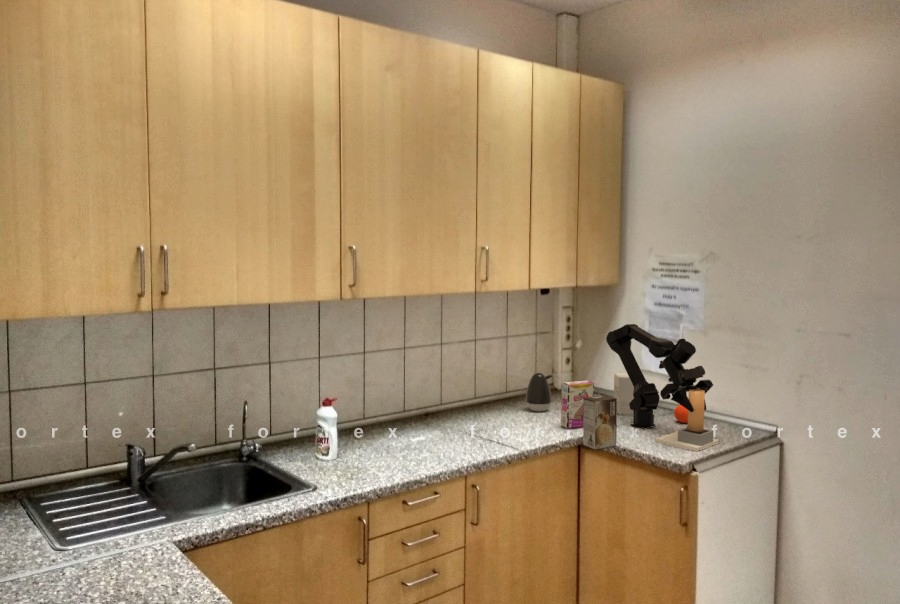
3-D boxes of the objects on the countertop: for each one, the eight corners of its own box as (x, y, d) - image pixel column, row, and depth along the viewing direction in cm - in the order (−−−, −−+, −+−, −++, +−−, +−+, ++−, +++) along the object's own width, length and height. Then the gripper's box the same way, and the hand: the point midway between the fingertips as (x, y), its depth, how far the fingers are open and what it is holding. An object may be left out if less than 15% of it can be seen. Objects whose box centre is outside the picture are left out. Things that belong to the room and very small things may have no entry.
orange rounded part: (686, 430, 236) (688, 391, 235) (688, 426, 241) (689, 388, 240) (702, 432, 234) (704, 392, 233) (704, 428, 239) (705, 389, 238)
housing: (655, 442, 241) (656, 428, 240) (677, 434, 250) (677, 421, 250) (697, 451, 230) (697, 437, 229) (718, 443, 239) (718, 429, 239)
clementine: (670, 419, 271) (671, 400, 271) (689, 419, 271) (690, 401, 270) (676, 424, 263) (677, 405, 263) (695, 425, 263) (696, 406, 263)
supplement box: (635, 409, 287) (636, 372, 286) (641, 415, 278) (642, 377, 277) (613, 409, 287) (613, 372, 286) (618, 415, 278) (619, 377, 277)
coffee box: (604, 441, 242) (605, 394, 241) (616, 446, 236) (617, 398, 235) (582, 444, 238) (583, 397, 237) (594, 449, 232) (595, 401, 231)
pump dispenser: (553, 413, 281) (553, 375, 280) (526, 413, 281) (527, 375, 280) (550, 407, 291) (550, 370, 290) (524, 407, 292) (524, 370, 290)
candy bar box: (567, 429, 257) (568, 384, 255) (560, 426, 261) (560, 382, 260) (594, 426, 261) (594, 382, 260) (586, 423, 266) (586, 379, 264)
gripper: (667, 359, 235) (690, 399, 226) (710, 355, 243) (734, 394, 234) (650, 379, 243) (672, 418, 234) (692, 374, 251) (715, 412, 242)
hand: (699, 410), depth 236 cm, fingers closed on orange rounded part, 5 cm apart
